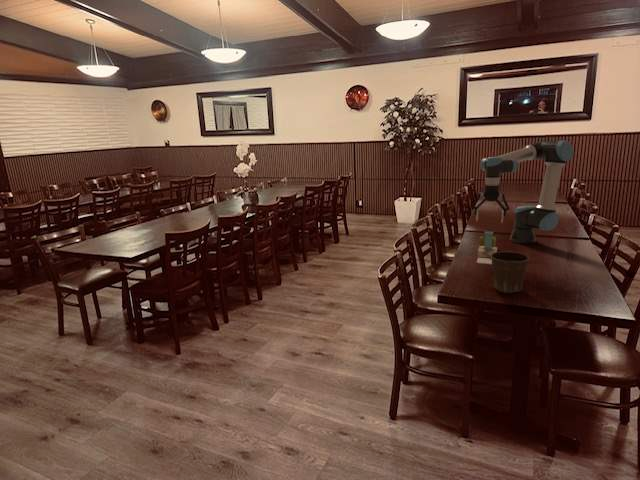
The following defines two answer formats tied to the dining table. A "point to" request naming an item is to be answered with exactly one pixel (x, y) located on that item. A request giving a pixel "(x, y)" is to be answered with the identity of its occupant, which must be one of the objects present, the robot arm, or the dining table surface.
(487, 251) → the socket block
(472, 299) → the dining table surface
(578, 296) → the dining table surface
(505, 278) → the plant pot
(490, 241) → the plug
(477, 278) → the dining table surface
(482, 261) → the tile
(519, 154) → the robot arm
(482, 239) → the mug
